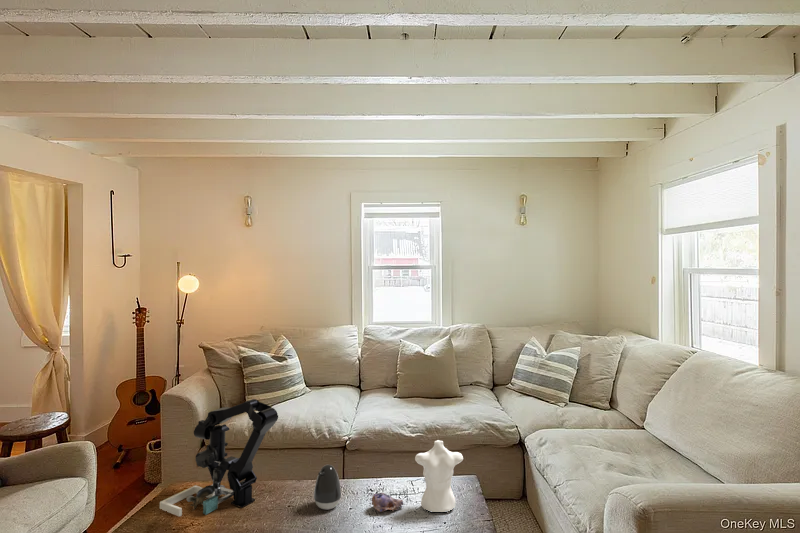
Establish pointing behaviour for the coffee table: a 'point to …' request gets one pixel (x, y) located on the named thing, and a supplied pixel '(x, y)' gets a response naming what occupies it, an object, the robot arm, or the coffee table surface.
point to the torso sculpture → (438, 477)
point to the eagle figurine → (201, 496)
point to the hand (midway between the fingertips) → (216, 481)
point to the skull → (385, 502)
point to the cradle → (217, 491)
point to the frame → (176, 510)
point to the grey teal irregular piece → (213, 502)
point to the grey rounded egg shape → (327, 488)
